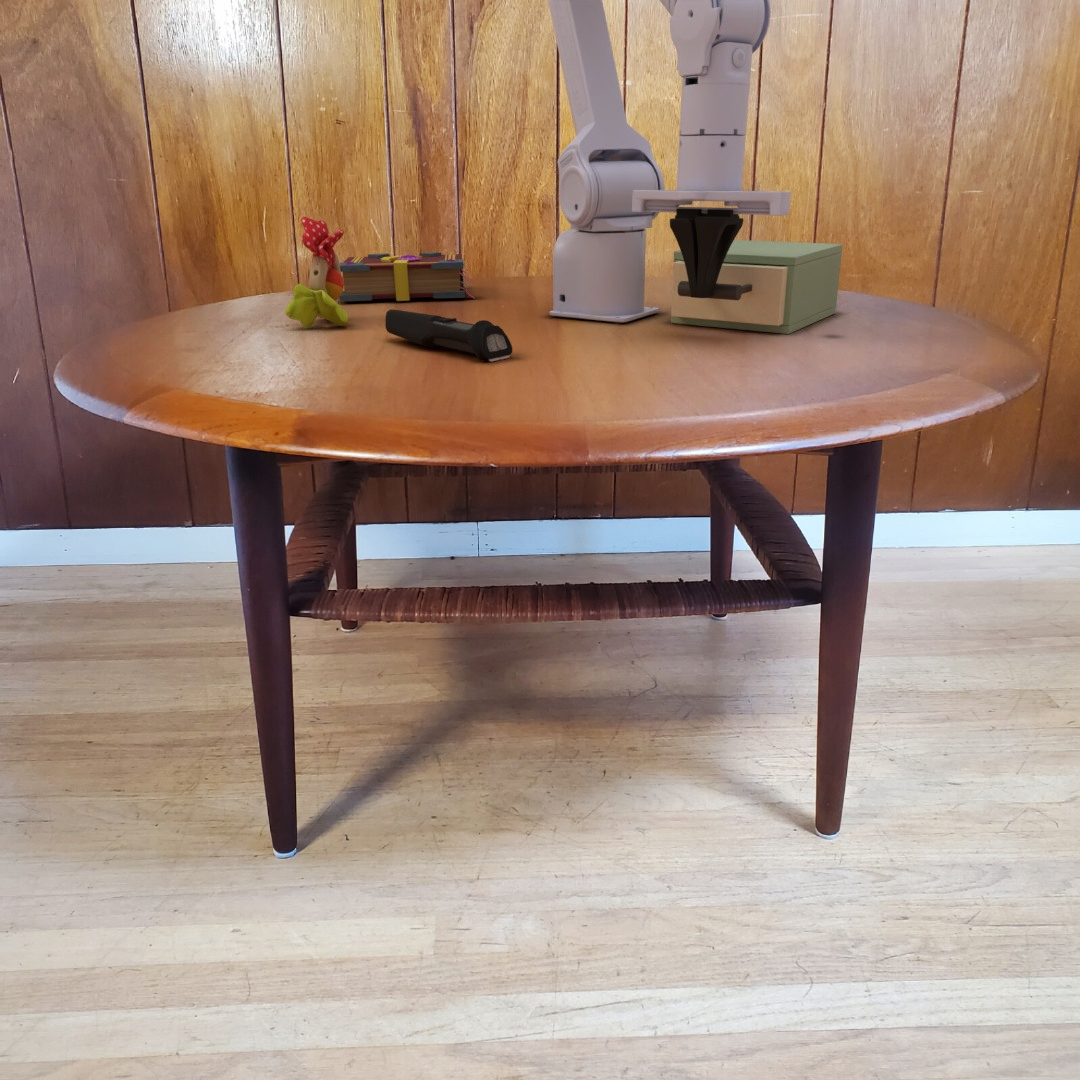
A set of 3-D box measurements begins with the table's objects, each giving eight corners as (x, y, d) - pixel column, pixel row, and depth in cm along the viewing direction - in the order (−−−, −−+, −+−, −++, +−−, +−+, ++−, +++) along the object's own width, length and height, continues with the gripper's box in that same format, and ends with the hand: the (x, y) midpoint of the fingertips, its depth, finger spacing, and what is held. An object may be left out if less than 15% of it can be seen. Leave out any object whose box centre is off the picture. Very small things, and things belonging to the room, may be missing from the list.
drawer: (761, 333, 84) (765, 273, 82) (651, 322, 90) (652, 266, 88) (823, 307, 96) (829, 254, 94) (723, 299, 102) (725, 250, 100)
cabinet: (788, 334, 88) (795, 257, 85) (670, 323, 95) (673, 251, 92) (835, 313, 98) (843, 244, 95) (726, 304, 105) (730, 239, 102)
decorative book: (350, 291, 121) (346, 251, 119) (473, 287, 122) (471, 247, 120) (340, 304, 110) (335, 261, 108) (474, 300, 111) (472, 257, 109)
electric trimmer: (408, 337, 91) (406, 304, 90) (516, 356, 81) (514, 319, 79) (377, 343, 89) (374, 309, 87) (484, 363, 78) (482, 326, 77)
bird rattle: (301, 340, 101) (279, 319, 92) (300, 239, 101) (278, 208, 92) (358, 339, 101) (342, 318, 92) (357, 238, 101) (340, 208, 92)
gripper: (617, 137, 81) (612, 295, 86) (774, 133, 73) (758, 307, 78) (655, 139, 86) (649, 288, 91) (805, 136, 78) (789, 299, 83)
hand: (702, 296), depth 85 cm, fingers closed, pressing on drawer
